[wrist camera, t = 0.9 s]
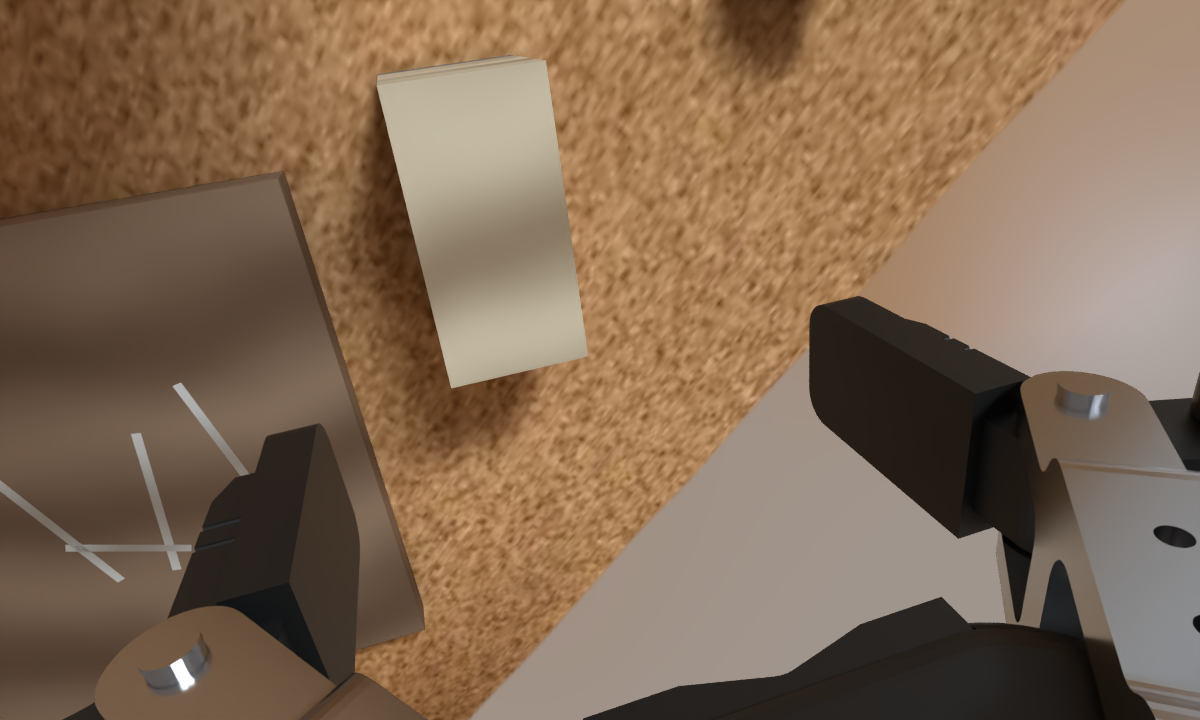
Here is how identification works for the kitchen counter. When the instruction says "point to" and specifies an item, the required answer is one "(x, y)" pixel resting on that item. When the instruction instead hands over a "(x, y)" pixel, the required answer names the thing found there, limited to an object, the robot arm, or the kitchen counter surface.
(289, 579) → the robot arm
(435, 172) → the block
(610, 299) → the kitchen counter surface
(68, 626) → the walnut board
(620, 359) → the kitchen counter surface
